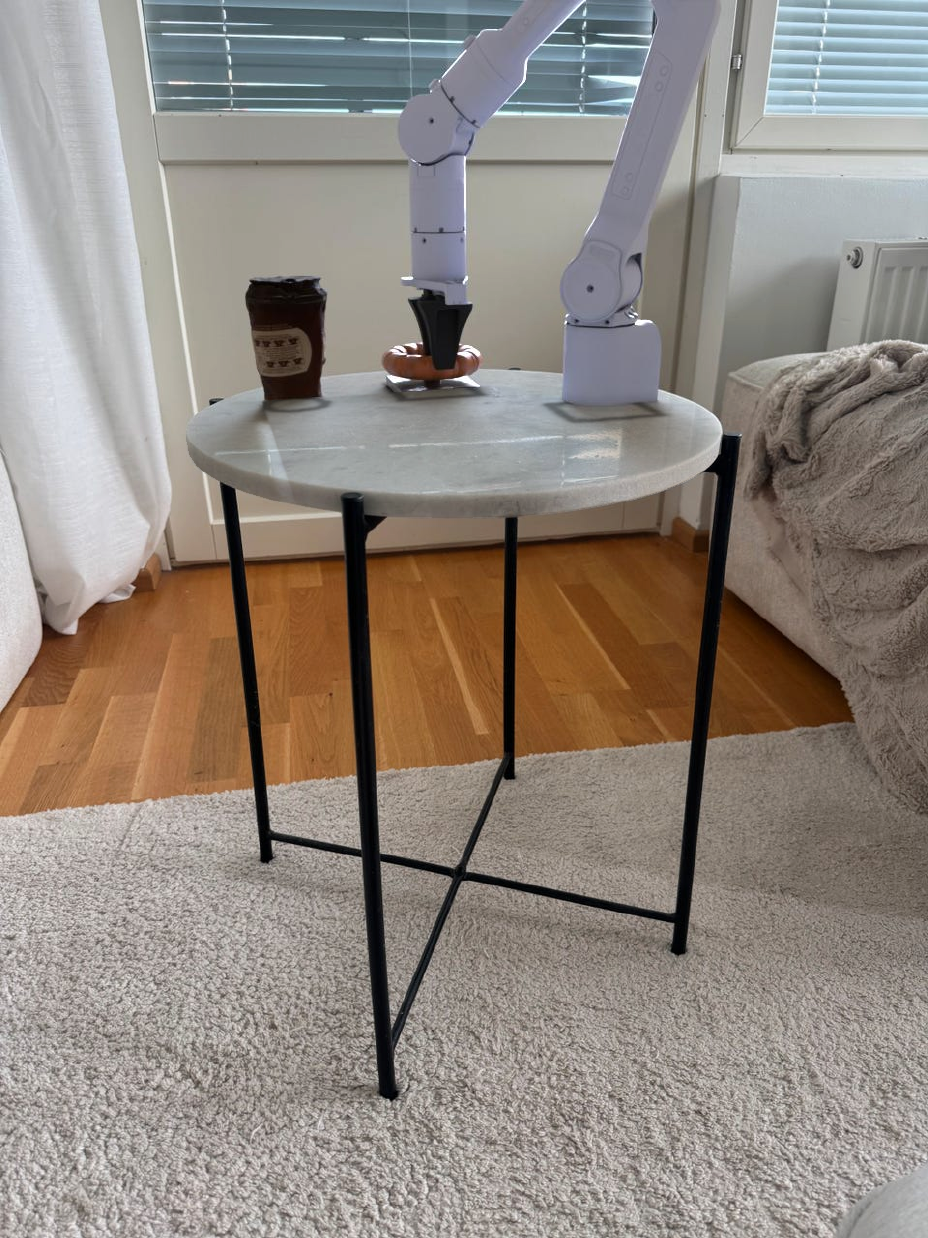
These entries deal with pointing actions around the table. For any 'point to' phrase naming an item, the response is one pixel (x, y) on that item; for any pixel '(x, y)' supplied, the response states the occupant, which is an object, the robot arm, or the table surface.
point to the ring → (428, 363)
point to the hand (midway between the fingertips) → (440, 366)
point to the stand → (427, 383)
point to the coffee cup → (288, 334)
